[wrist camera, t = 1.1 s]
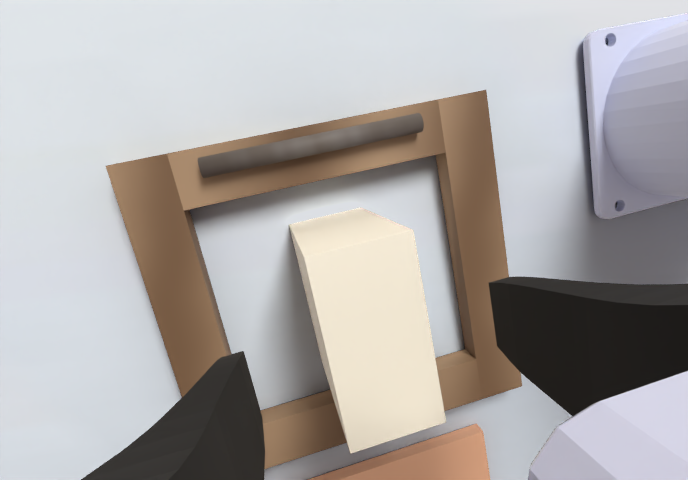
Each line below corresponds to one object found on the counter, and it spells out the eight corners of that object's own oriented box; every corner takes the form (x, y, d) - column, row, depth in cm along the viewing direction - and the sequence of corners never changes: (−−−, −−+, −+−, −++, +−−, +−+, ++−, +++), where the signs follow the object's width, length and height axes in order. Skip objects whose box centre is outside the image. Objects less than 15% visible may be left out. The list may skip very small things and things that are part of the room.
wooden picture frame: (473, 94, 17) (496, 86, 15) (509, 375, 20) (531, 394, 18) (115, 165, 15) (97, 166, 13) (214, 468, 17) (209, 500, 16)
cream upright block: (360, 207, 17) (413, 229, 11) (386, 339, 18) (446, 422, 12) (289, 224, 16) (304, 257, 10) (320, 358, 18) (350, 453, 12)
